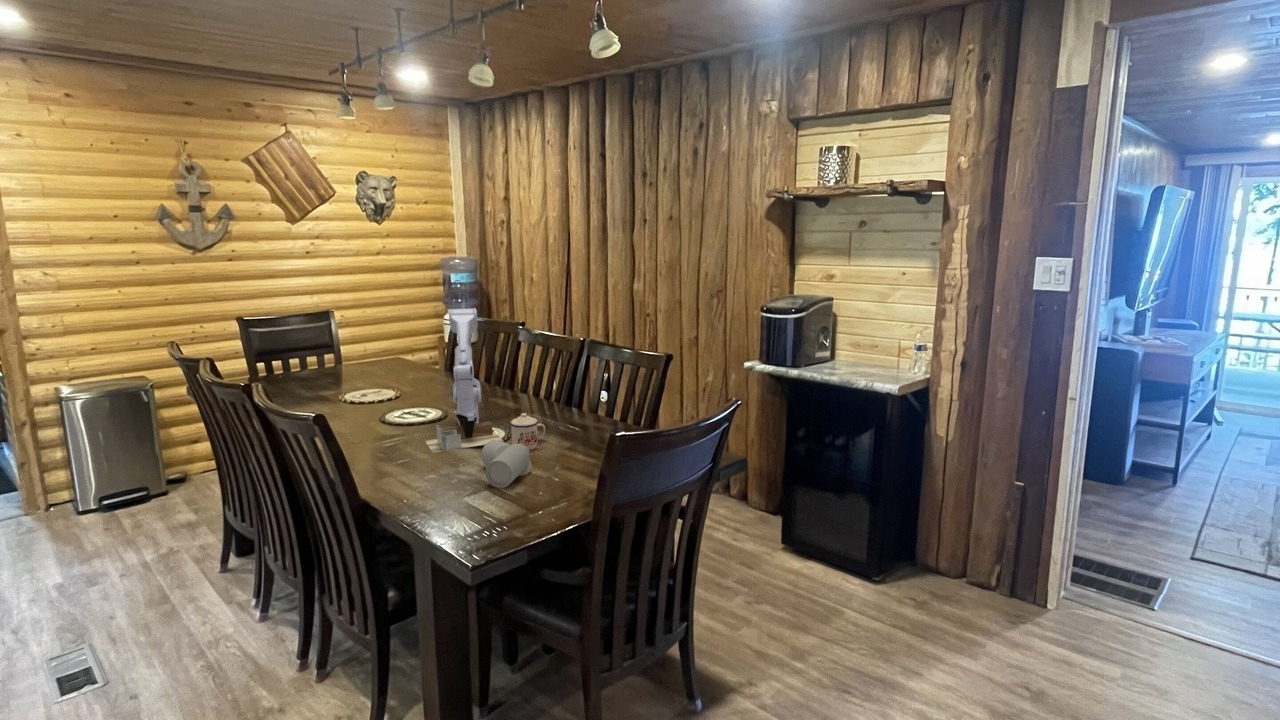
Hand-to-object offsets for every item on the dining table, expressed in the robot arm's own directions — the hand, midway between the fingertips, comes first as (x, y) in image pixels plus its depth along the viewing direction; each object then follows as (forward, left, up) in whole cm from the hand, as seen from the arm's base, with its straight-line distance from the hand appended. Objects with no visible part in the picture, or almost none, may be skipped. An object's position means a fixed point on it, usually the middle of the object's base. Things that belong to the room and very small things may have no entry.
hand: (467, 435), depth 244 cm
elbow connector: (+39, +2, -2) cm, 39 cm away
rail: (0, 0, -1) cm, 1 cm away
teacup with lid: (+17, +17, -2) cm, 24 cm away
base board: (+4, -2, -2) cm, 5 cm away
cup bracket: (+7, -8, -1) cm, 10 cm away
